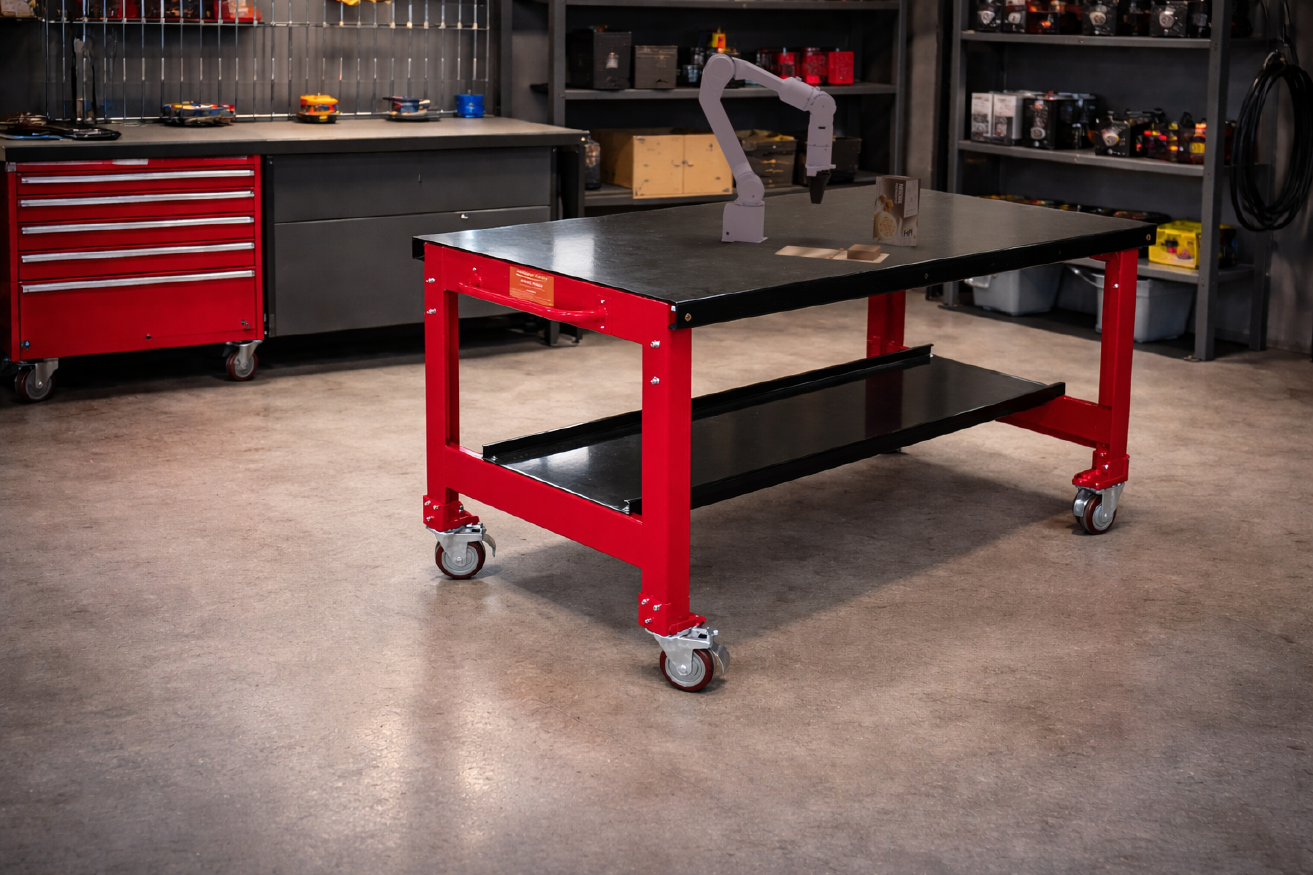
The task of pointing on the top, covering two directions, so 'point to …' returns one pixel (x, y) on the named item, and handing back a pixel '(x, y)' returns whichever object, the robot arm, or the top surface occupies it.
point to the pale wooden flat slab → (823, 253)
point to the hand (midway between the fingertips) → (816, 203)
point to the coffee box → (896, 210)
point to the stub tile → (863, 252)
